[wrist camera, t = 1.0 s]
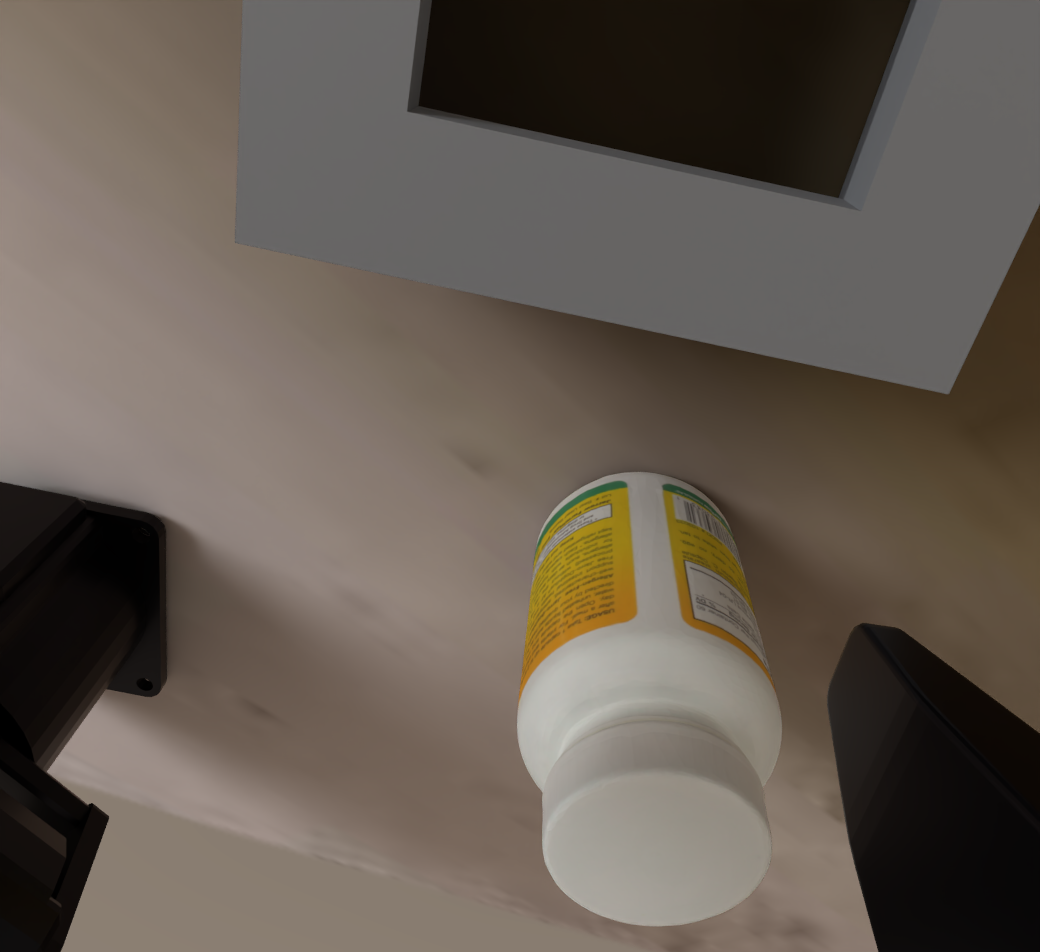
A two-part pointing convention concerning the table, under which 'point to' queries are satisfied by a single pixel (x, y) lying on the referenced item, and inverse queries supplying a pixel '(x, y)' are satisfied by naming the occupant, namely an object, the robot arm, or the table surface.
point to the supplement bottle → (647, 704)
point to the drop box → (656, 194)
